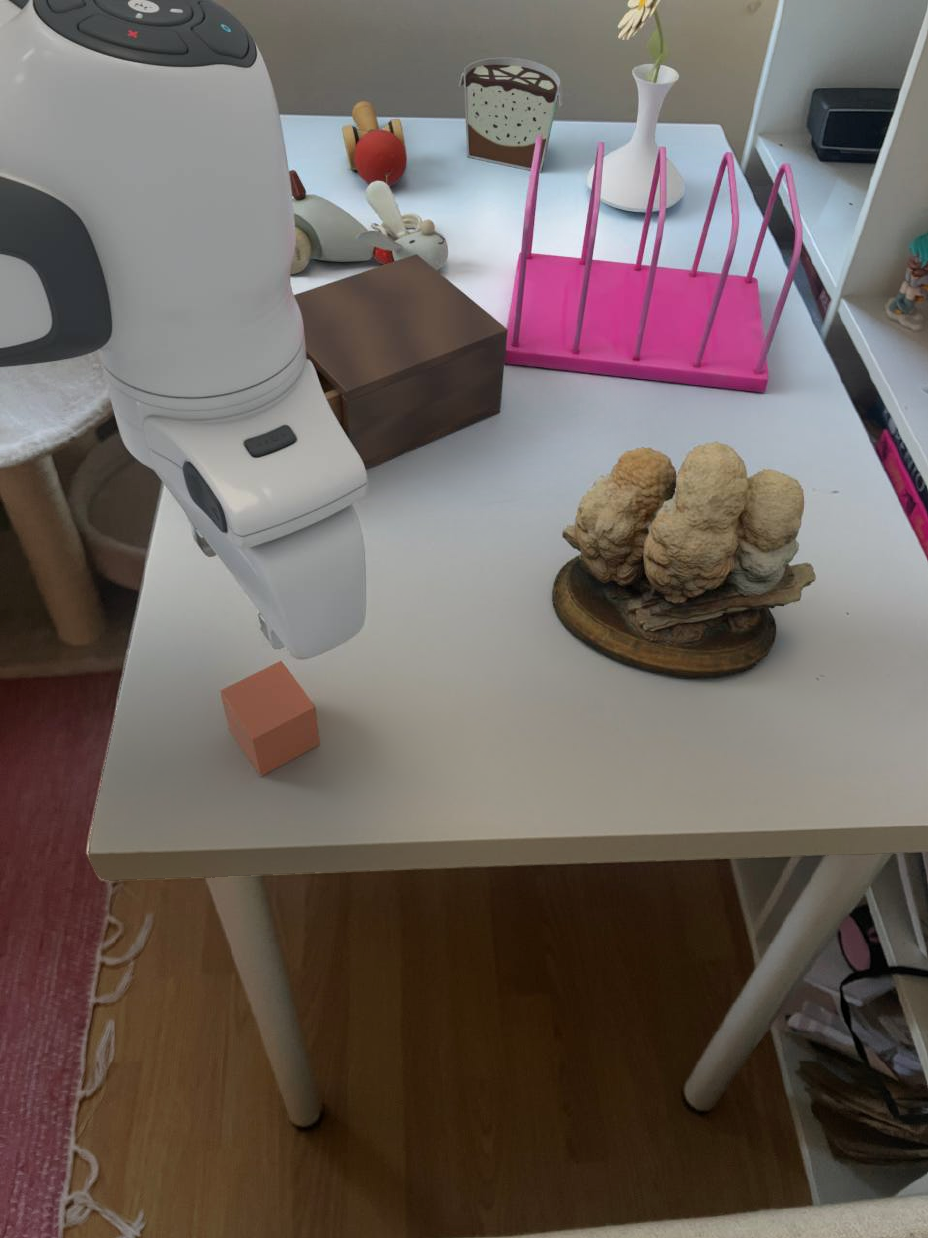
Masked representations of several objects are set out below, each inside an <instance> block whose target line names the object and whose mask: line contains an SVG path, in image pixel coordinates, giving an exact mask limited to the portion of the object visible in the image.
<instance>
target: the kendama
mask: <svg viewBox="0 0 928 1238" xmlns="http://www.w3.org/2000/svg"><path fill="white" fill-rule="evenodd" d="M351 116H352V117H351V118H352V120H353V122H354V123H355V125H356V126H357V127H355V126H354V125H353V124H347V125H343V126H342V127H341V130H342V137H343V142H344V146H345V151H346V156H347V161H348V165H349V170H350V171H356V172H357V173H358V175H359V177H360V178H361V179H362V180H363V181H364V182H366V183H367V184H368V185H370V184H371V183H372V182H375V181H383V182H385V183H386V184H387V185H388V186H389V187H391V186H392V185H395V184H396V183H397V182H399V181H400V180H401V178H402V177H403V175H404V173H405V171H406V168H407V164H408V163H407V161H408V159H407V158H408V157H407V150H406V142H405V141H406V140H405V137H404V131H403V126H402V123H401V120H400V118H392V119H390V121H389V122H388V123H387V124H386V125H385V126H384V127H383V128H381V129H380V127H379V121H378V117H377V111H376V108H375V106H373V104H372V103H371V102H369V101H366V100H363V101H359V102H357V103H356V104H355V105H354V106H353V108H352V112H351Z"/></svg>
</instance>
